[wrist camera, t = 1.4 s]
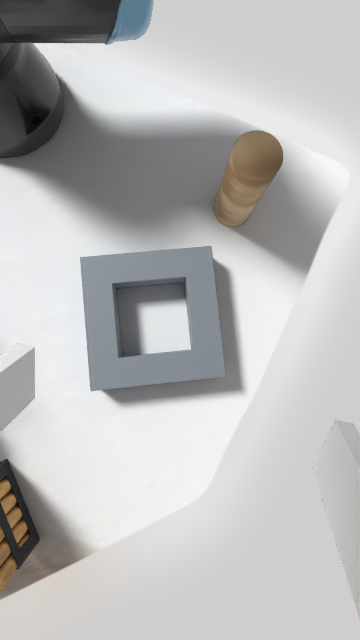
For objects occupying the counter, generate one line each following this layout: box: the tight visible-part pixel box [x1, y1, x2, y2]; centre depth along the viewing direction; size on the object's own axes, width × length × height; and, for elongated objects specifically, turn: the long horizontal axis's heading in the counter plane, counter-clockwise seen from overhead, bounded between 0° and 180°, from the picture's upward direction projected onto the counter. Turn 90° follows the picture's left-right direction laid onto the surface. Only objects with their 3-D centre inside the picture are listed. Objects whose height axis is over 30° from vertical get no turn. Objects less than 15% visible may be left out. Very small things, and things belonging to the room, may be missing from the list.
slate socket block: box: [80, 246, 226, 391], centre depth 38 cm, size 16×16×4 cm
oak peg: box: [214, 131, 283, 227], centre depth 36 cm, size 5×5×12 cm
